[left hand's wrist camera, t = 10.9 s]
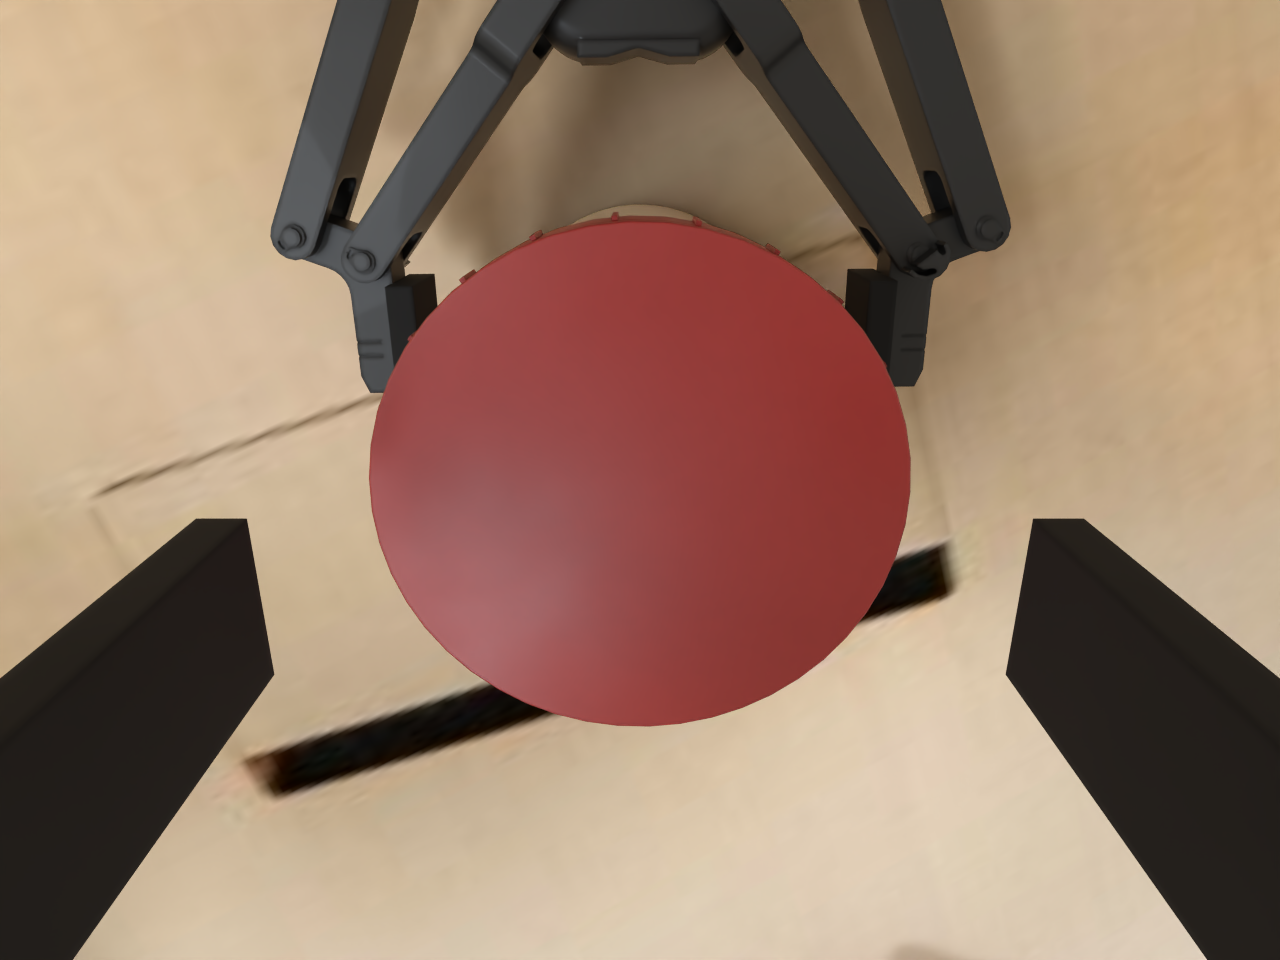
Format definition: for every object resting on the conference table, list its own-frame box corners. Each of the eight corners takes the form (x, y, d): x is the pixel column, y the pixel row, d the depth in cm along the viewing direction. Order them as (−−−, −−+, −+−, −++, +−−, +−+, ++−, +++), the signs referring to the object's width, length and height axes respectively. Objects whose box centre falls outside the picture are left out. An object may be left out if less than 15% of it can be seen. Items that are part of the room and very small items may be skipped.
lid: (316, 569, 19) (288, 604, 18) (520, 104, 16) (507, 98, 14) (730, 752, 21) (737, 799, 19) (992, 369, 18) (1026, 389, 16)
